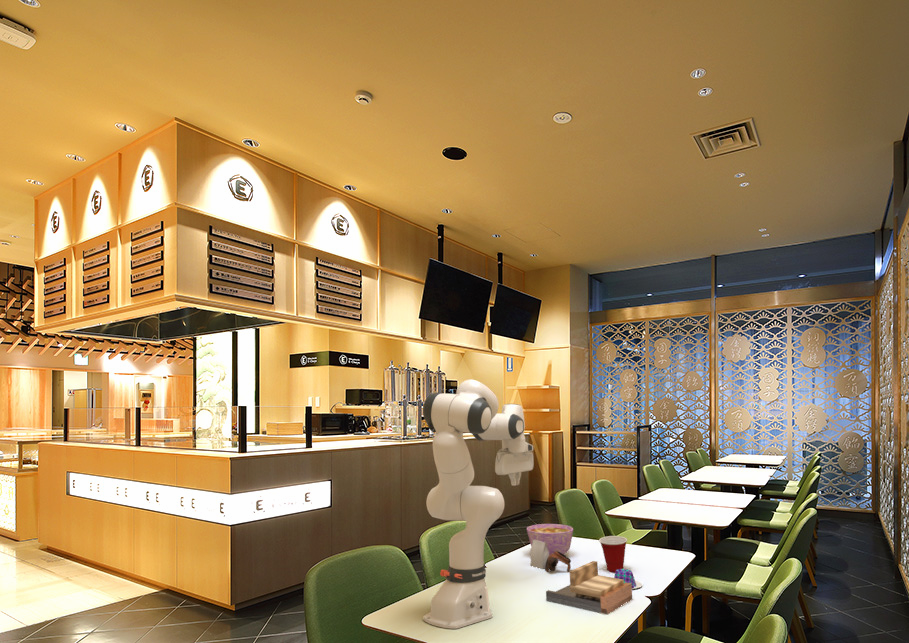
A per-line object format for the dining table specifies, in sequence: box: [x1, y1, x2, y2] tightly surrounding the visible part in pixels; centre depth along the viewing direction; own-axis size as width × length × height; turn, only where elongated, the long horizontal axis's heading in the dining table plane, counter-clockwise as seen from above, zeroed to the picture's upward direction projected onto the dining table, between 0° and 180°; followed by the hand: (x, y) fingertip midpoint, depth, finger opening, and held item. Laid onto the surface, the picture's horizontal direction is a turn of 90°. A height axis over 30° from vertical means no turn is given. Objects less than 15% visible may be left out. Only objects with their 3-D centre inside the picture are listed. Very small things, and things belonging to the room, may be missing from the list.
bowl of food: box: [526, 523, 574, 555], centre depth 256 cm, size 20×20×12 cm
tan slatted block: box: [569, 560, 624, 601], centre depth 196 cm, size 16×11×9 cm
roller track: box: [545, 583, 633, 615], centre depth 198 cm, size 18×22×5 cm
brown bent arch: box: [544, 551, 572, 573], centre depth 233 cm, size 12×10×8 cm
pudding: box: [613, 568, 643, 590], centre depth 213 cm, size 12×12×5 cm
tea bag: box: [529, 540, 549, 570], centre depth 240 cm, size 4×7×10 cm, turn 37°
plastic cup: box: [598, 535, 628, 574], centre depth 232 cm, size 11×11×12 cm
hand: (515, 485), depth 222 cm, fingers closed
